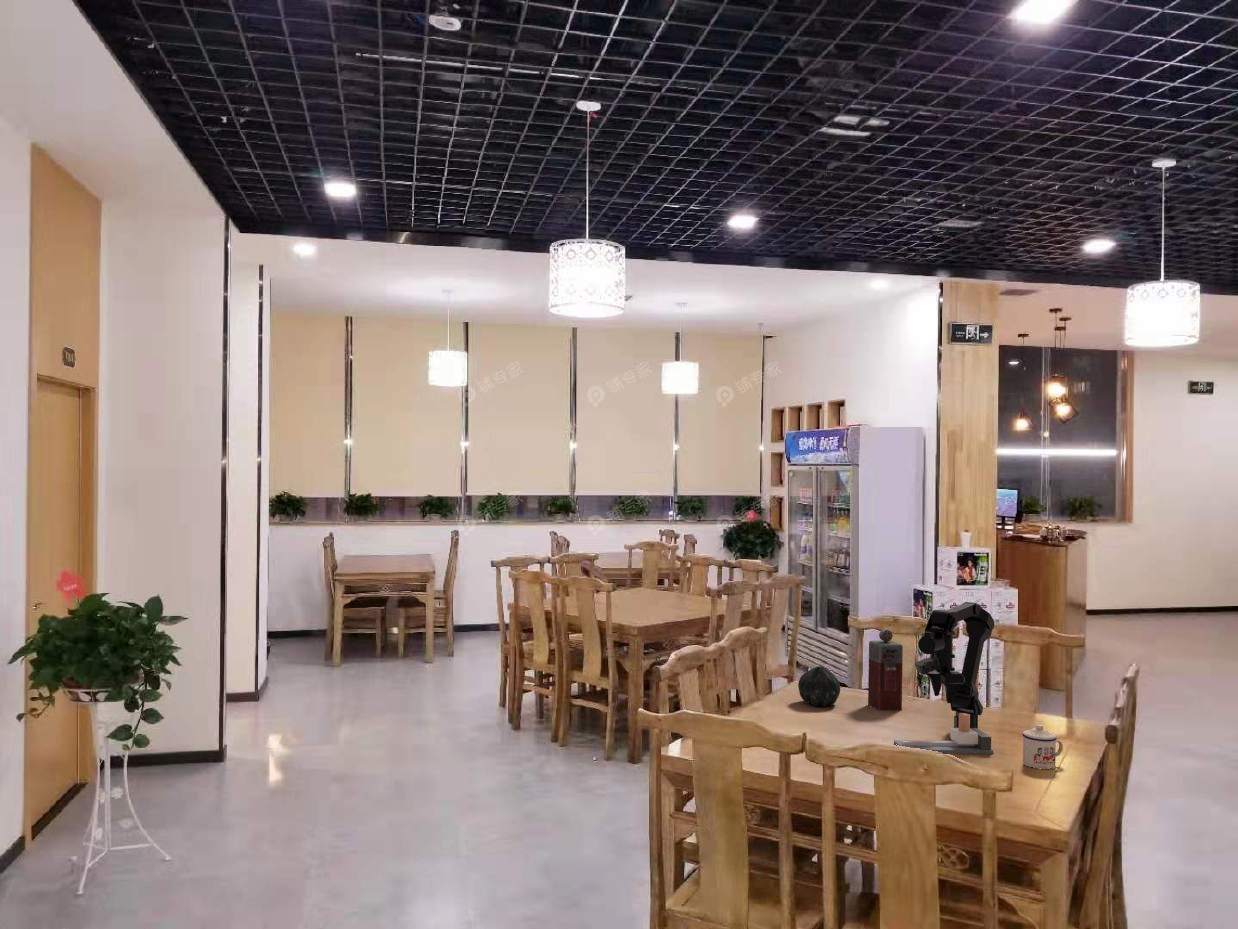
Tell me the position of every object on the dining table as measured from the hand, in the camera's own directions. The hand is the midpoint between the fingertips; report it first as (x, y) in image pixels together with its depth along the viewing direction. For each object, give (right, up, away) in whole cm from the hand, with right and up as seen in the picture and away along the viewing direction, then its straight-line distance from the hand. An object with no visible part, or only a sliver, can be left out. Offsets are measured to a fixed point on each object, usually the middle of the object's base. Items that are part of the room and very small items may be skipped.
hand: (942, 699), depth 300 cm
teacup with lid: (+21, -13, -25) cm, 35 cm away
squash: (-30, -13, +45) cm, 55 cm away
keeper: (+3, -11, -9) cm, 14 cm away
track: (-3, -13, -10) cm, 16 cm away
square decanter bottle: (-6, -13, +40) cm, 43 cm away
